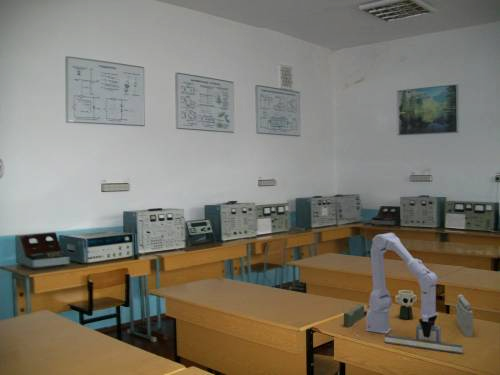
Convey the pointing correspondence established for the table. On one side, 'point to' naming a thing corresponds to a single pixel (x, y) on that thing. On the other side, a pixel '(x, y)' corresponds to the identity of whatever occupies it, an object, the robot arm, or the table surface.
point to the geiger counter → (464, 316)
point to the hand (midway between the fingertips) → (428, 334)
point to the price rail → (424, 344)
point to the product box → (434, 334)
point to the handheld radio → (354, 315)
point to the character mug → (406, 303)
